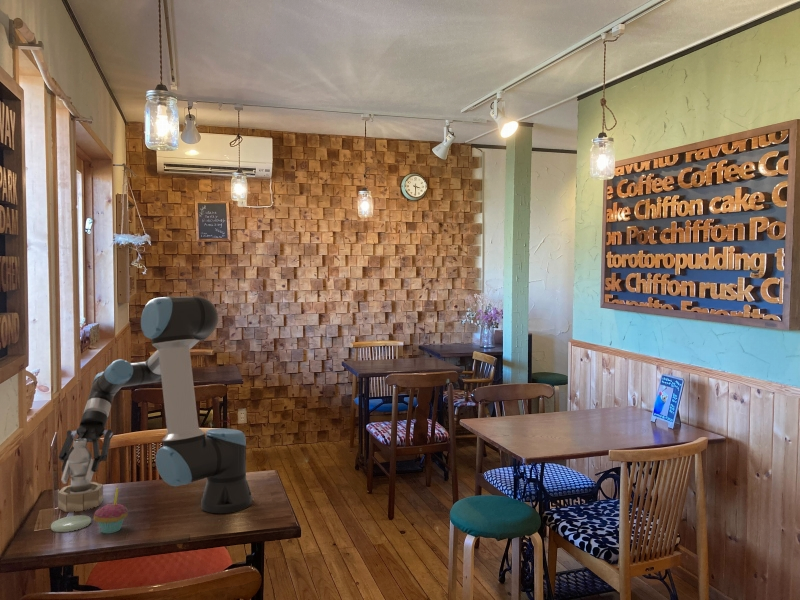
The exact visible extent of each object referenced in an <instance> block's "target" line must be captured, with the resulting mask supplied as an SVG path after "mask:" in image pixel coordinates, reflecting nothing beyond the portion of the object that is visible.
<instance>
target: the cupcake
mask: <svg viewBox="0 0 800 600" xmlns="http://www.w3.org/2000/svg"><path fill="white" fill-rule="evenodd" d="M116 487H117V488H115V493H114V494H115V495H114V500H113V503H112V502H110V503H107V504H105V505H103V506H101V507H99V508H98V509H96V510H95V511H94V514H93V518H92V519H93V521H94V522H96V523H97V524H98V525H99V528H100V531H101V533H103V534H114V533H117V532H118V531H120V530H121V529H122V525H123V522H124V519H125V518H126V517H128V516H129V515H128V514H129V512H128V507H126V506H125V505H123V504H121V503H118V495H119V485H117V486H116Z"/></svg>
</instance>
